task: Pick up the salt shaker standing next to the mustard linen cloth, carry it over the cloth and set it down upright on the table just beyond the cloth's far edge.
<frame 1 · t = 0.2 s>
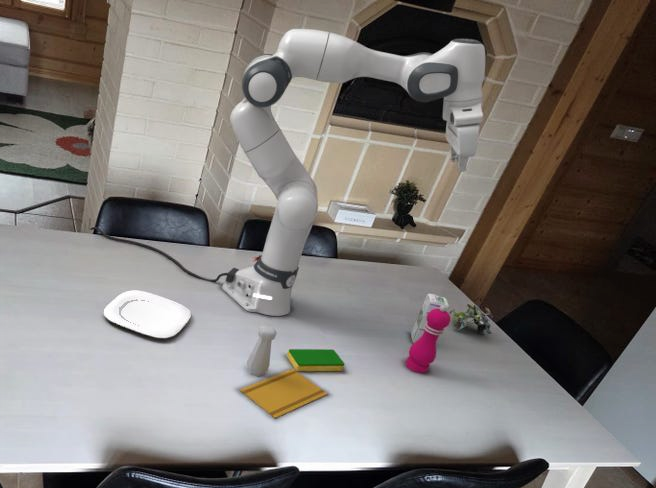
hand: (458, 166, 167), 52 cm above the table, tool tilted 20°, fingers open, 8 cm apart
syrup box: (419, 341, 196), on the table
salt shaker: (255, 371, 166), on the table
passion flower: (466, 331, 207), on the table
cloth: (284, 392, 160), on the table
pepper mill: (415, 367, 182), on the table
plate: (147, 317, 179), on the table
dish sponge: (314, 364, 174), on the table
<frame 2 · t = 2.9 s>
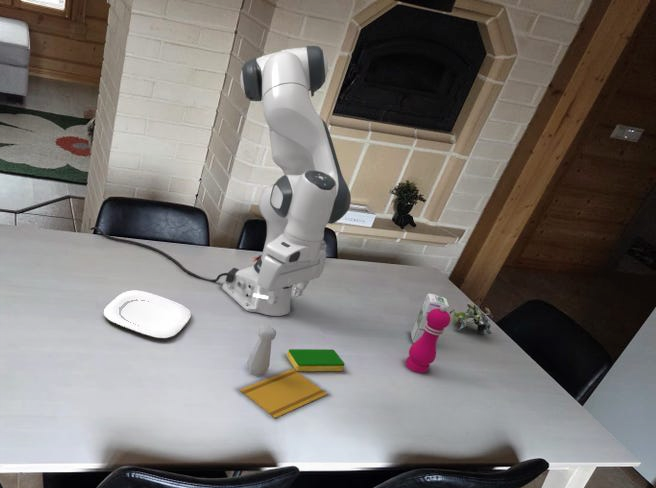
hand: (284, 299, 154), 22 cm above the table, tool pointing down, fingers open, 8 cm apart
nothing on the table moved.
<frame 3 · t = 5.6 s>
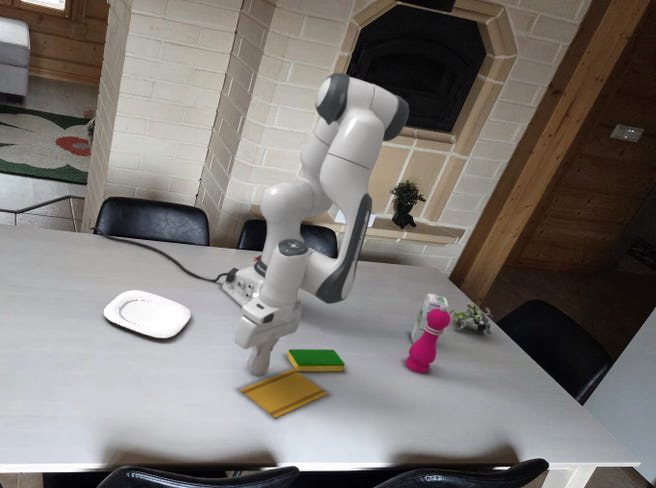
hand: (261, 353, 163), 6 cm above the table, tool pointing down, fingers closed on salt shaker, 3 cm apart
salt shaker: (255, 371, 166), on the table, touching gripper
everything else where it was.
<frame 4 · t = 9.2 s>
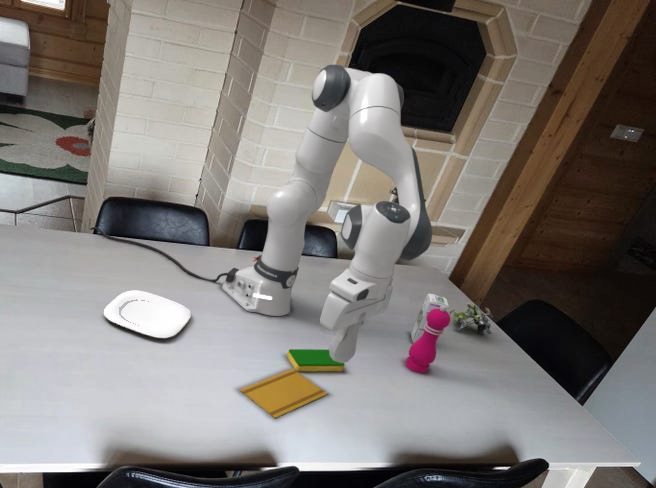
hand: (346, 336, 142), 23 cm above the table, tool pointing down, fingers closed on salt shaker, 3 cm apart
salt shaker: (338, 358, 145), point 17 cm above the table, touching gripper
everything else where it was.
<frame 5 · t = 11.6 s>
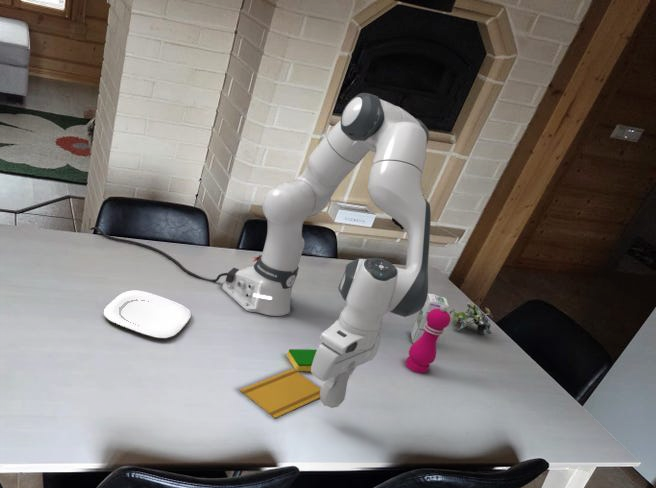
hand: (336, 383, 147), 11 cm above the table, tool pointing down, fingers closed on salt shaker, 3 cm apart
salt shaker: (329, 403, 150), point 5 cm above the table, touching gripper
everything else where it was.
when the fingers open (6 cm above the table, at t = 13.2 s): salt shaker stays where it is, on the table.
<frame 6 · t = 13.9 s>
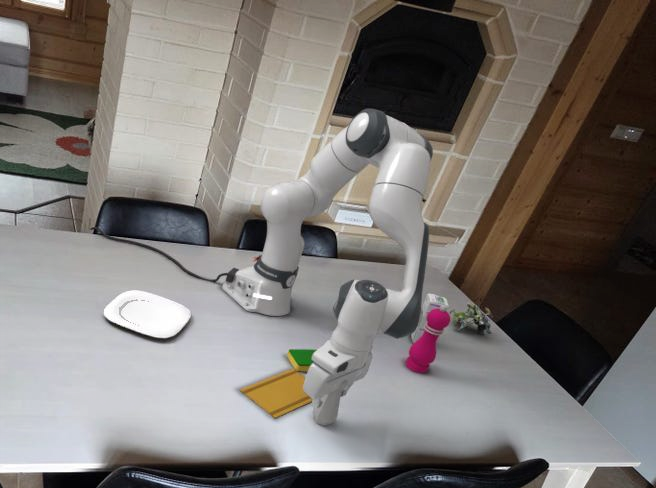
hand: (328, 400, 150), 6 cm above the table, tool pointing down, fingers open, 8 cm apart
salt shaker: (321, 420, 153), on the table
everything else where it was.
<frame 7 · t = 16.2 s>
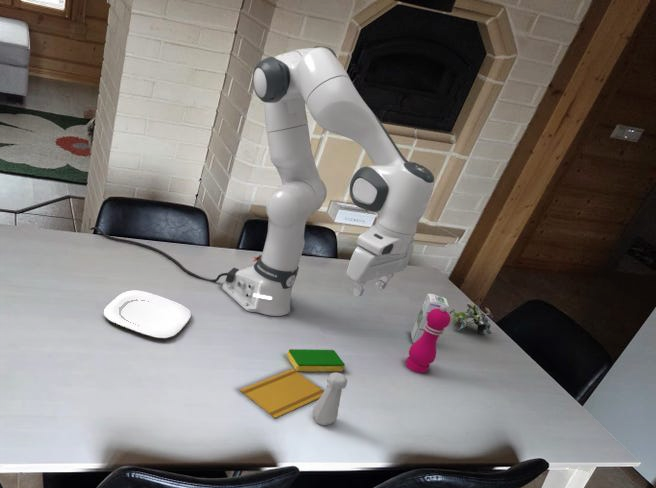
hand: (368, 291, 152), 28 cm above the table, tool pointing down, fingers open, 8 cm apart
nothing on the table moved.
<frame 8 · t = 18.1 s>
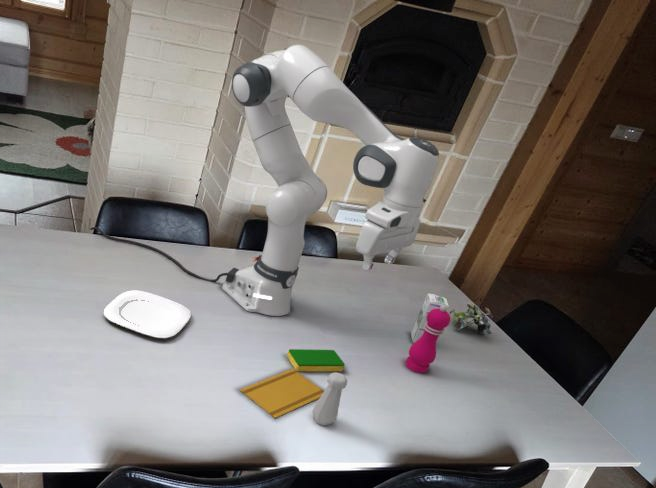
hand: (377, 265, 156), 31 cm above the table, tool pointing down, fingers open, 8 cm apart
nothing on the table moved.
at the end: salt shaker inside the target area on the table beside the cloth (0.7 cm from its centre), on the table; salt shaker tilted 0°; the gripper is holding nothing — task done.
